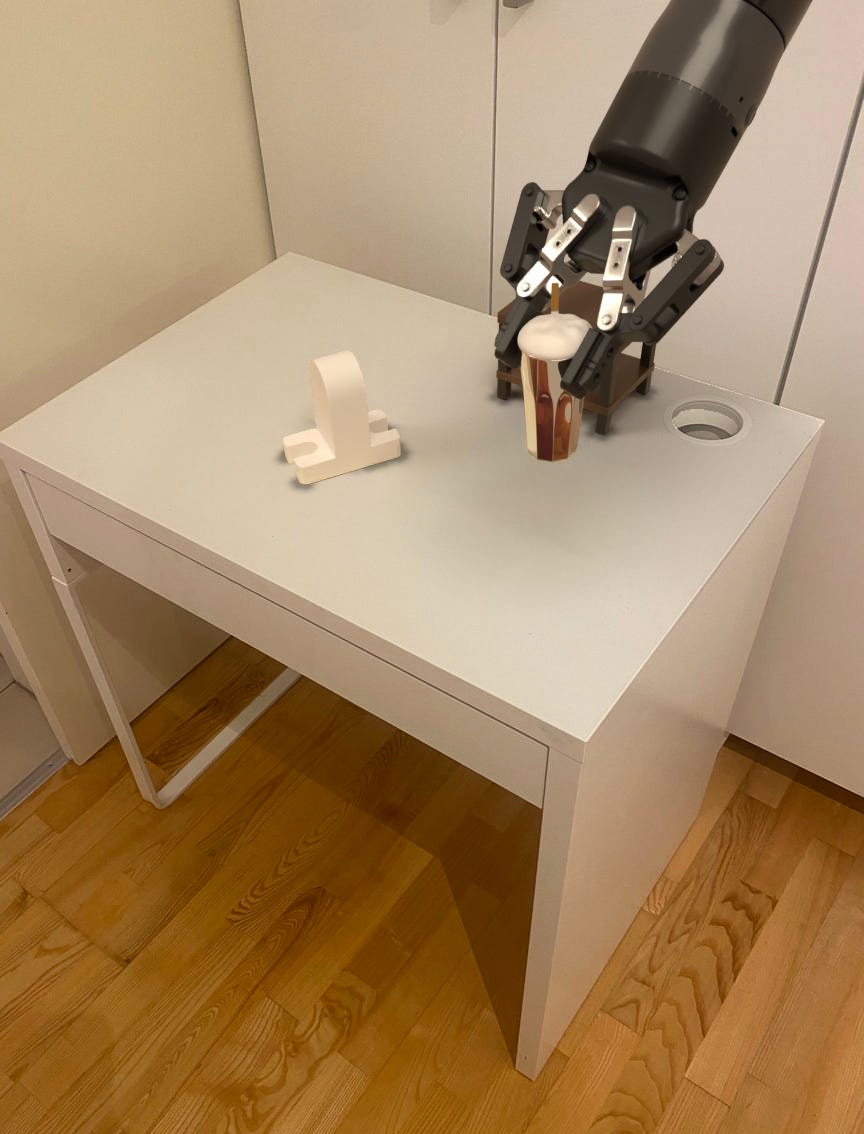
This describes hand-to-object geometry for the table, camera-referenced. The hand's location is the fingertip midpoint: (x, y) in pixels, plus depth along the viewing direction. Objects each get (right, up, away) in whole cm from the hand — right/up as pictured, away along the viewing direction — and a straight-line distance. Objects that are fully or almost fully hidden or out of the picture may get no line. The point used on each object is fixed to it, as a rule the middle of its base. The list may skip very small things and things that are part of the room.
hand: (537, 376), depth 60 cm
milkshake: (+2, -3, +5) cm, 7 cm away
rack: (+9, +8, +36) cm, 38 cm away
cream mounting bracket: (-13, +1, +32) cm, 34 cm away
